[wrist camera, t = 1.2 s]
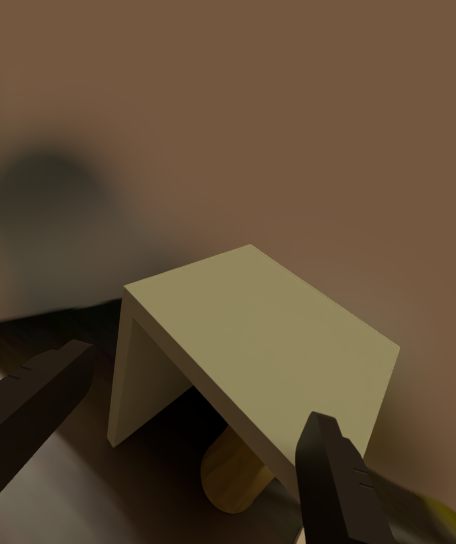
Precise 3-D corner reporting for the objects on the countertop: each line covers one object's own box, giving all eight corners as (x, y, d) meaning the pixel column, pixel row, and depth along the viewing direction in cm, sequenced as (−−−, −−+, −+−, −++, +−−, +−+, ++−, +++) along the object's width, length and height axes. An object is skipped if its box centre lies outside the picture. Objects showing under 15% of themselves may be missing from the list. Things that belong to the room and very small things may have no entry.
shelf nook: (107, 437, 26) (123, 285, 15) (199, 368, 35) (250, 244, 24) (204, 591, 20) (342, 517, 9) (285, 459, 29) (400, 347, 19)
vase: (234, 429, 30) (287, 351, 22) (270, 486, 27) (346, 417, 19) (188, 461, 26) (232, 379, 19) (223, 532, 23) (294, 468, 15)
